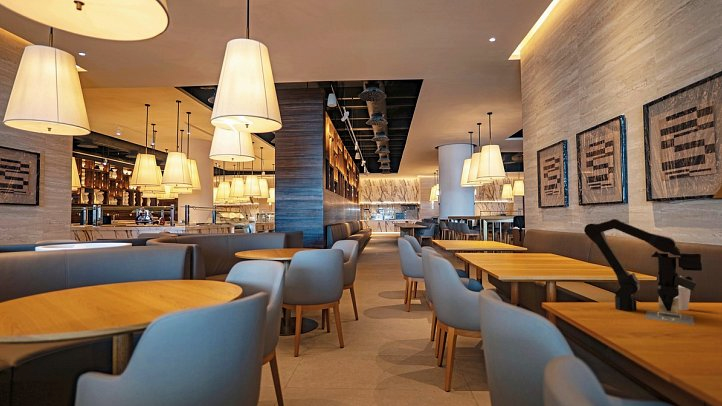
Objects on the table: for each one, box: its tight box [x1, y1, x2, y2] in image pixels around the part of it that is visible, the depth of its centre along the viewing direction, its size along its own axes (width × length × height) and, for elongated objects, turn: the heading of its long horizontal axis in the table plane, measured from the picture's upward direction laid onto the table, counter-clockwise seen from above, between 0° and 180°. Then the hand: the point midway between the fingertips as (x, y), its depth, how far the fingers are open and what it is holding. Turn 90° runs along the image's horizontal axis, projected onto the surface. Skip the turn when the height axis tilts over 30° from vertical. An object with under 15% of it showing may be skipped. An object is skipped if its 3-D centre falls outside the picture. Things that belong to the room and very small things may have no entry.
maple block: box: [658, 295, 680, 315], centre depth 144 cm, size 6×6×5 cm
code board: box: [644, 310, 695, 326], centre depth 141 cm, size 14×15×1 cm
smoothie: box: [675, 275, 691, 311], centre depth 157 cm, size 6×6×14 cm
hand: (668, 309), depth 144 cm, fingers closed on maple block, 6 cm apart
